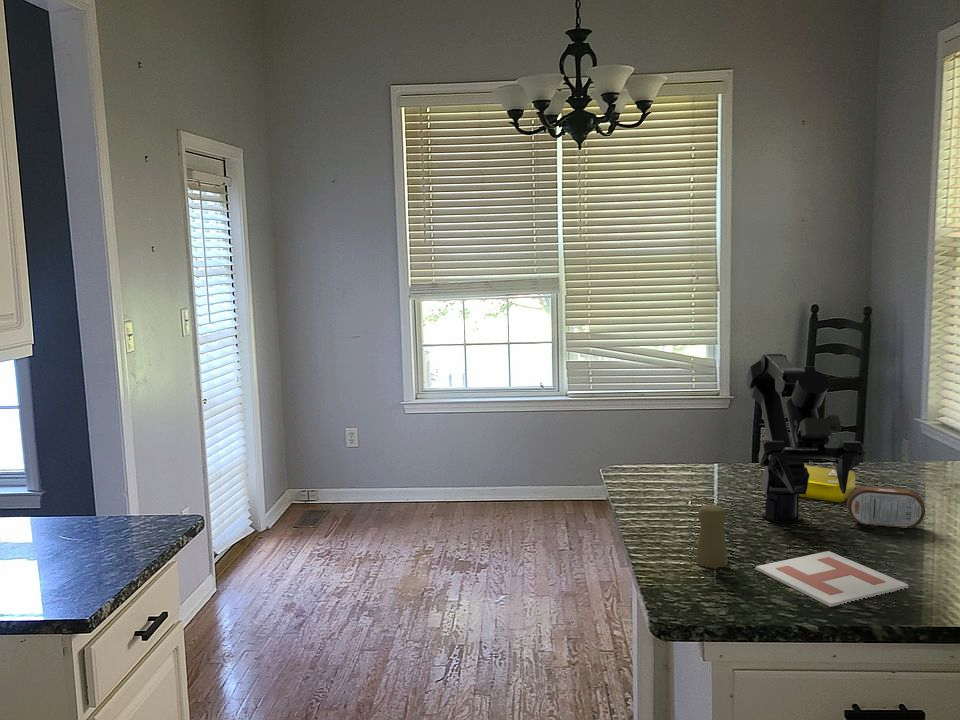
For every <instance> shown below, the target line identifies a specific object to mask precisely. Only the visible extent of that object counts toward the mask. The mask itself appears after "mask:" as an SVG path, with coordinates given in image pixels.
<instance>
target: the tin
mask: <svg viewBox="0 0 960 720" xmlns="http://www.w3.org/2000/svg"><path fill="white" fill-rule="evenodd" d="M846 509H847V511H848V513H849V515H850V517H851V518H852V519H853V520H854V521H855V522H857V523H858V524H860V525H863V526H867V525H871V526H870V527H878V526H886V527H885V528H889V527H907V528H909V529H913V528H915V527H917V526H918V525H919V524H921V523H922V521H923V520H924V517H925V514H926V507H925V505H924V501H923V499H922V498H921V496H920V495H919V494H918V493H917V492H916V491H914V490H911V489H908V488H899V487H898V488H897V487H887V486H876V485H862V486H858V487H857V488H855V489H854V490H853V491H852V492H851V493H850V494H849V496H848V497H847V498H846ZM872 525H873V526H872ZM887 526H889V527H887Z"/></svg>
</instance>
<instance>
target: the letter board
mask: <svg viewBox="0 0 960 720" xmlns="http://www.w3.org/2000/svg"><path fill="white" fill-rule="evenodd" d="M755 570H756V571H758V572H760V573H763V574H764V575H766V576H768V577H770V578H772V579H774V580H776V581H778V582H780V583H782V584H783V585H785V586H788V587H790V588H791V589H794V590H796V591H798V592H800V593H802V594H804V595H806V596H807V597H810V598H811V599H814V600H816V601H817V602H820V603H821V604H824V605H825V606H828V607H830V608H831V607H836V606H840V604H841V605H845V604H848V603H847V602H849V603H852V602H851V601H853V602H856V601H855V600H857V601H860V600H859V599H861V600H864V599H863V598H865V599H869V598H872V597H877V596H876V595H878V596H881V594H882V595H885V593H886V594H888V593H889V592H890V593H893V592H897V590H898V591H901V590H900V589H902V590H905V589H904V588H906V589H909V584H908V583H905V582H903V581H900V580H898V579H896V578H893V577H891V576H889V575H886V574H884V573H882V572H879V571H877V570H874V569H872V568H870V567H868V566H865V565H862V564H860V563H858V562H856V561H853V560H851V559H848V558H846V557H844V556H841V555H839V554H837V553H835V552H832V551H829V550H827V551H822V552H816V553H813V554H808V555H804V556H803V555H802V556H799V557H793V558H789V559H785V560H784V559H783V560H779V561H775V562H770V563H766V564H760V565H755ZM868 597H869V598H868ZM844 603H845V604H844Z"/></svg>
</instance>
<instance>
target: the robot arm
mask: <svg viewBox="0 0 960 720" xmlns="http://www.w3.org/2000/svg"><path fill="white" fill-rule="evenodd" d="M815 367H816V366H804V367H803V368H800V367H799V368H798V367H797V366H795V365H794V364H793V363H792V362H791V361H790V360H789V359H788V357H787V355H786V354H783V353H765V354H762V356H761V357H760V360H758V361H756V362H755V363H753V364H752V365H751V366H749V370H748V373H747V376H746V385H747V389H749V390H750V395H751V398H753V400H754V401H756V403H758V404H759V405H760V408H761V412H762V413H761V414H762V418H763V423H764V427H765V432H766V437H767V440H764V441H763V442H762V443H761V446H760V449H759V452H758V463H759V466H761V467H764V470H763V473H762V475H761V478H760V487H761V490H762V492H764V493H765V495H766V498H765V509H764V510H765V512H764V513H761V517H762V518H765V519H767V520H769V521H772V522H774V523H777V524H780V525H786V524H791V523H796V522H802V521H804V519H805V518H804V517H802V516H800V515H799V509H800V507H799V506H800V505H799V503H800V496H799V494H803V495H806V491H807V486H808V480H809V476H810V474H809V473H808V470H807V468H806V467H805V466H806V465H805V462H804V459H834V461H835V464H836V467H835V470H836V472H837V477H838V481H839V486H840V490H841V492H842V494H845V492H846V487H847V480H848V474H849V472H850V471H852V470H853V469H854V468H857V467H859V465H860V464H861V461H862V460H863V458H864V456H865V455H866V450H865V446H864V443H862V442H861V441H859V440H841V441H840V442H839V444H838V446H837V447H826V445H828V443H829V442H830V439H829V437H831V436H832V435H833V434H838V433H840V432H841V430H842V425H841V420H840V417H839V415H838V414H836V415H831V414H830V415H828V416H827V417H819V414H818V408H820V407H821V405H822V404H823V401H824V398H825V397H826V394H827V391H828V390H829V387H830V381H829V378H827V377H826V376H825V374H823V373H822V372H821V371H820V372H819V371H817V370H816V368H815ZM782 398H787V399H788V400H787V401H786V403H785V410H786V416H787V419H786V417H785V412H784V406H783V403H782ZM786 420H787V421H788V424H789V425H788V424H787V421H786ZM788 426H789V430H788ZM789 431H790V433H789ZM791 441H792V443H791ZM792 445H793V447H792Z"/></svg>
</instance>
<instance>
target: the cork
mask: <svg viewBox="0 0 960 720" xmlns="http://www.w3.org/2000/svg"><path fill="white" fill-rule="evenodd" d="M727 516H728V515H727V511H726V510H725V508H724V507H722V506H720V505H716V504H715V505H714V504H706V505H703V506H701V507H700V508H699V510H698V514H697V517H698V520H699V522H700V529H699V534H698V541H697V547H696V553H695V554H696V555H695V561H696V562H695V561H694V562H695V563H696V564H697V563H698V564H699V565H698V564H697V565H698V566H701V567H703V566H705V568H708V567H709V569H719V568H718V567H722V568H725V567H727V566H728V564H729V563H728V560H729V559H728V553H727V545H726V537H725V536H726V535H725V528H724V524H726V521H727ZM724 566H725V567H724Z"/></svg>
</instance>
